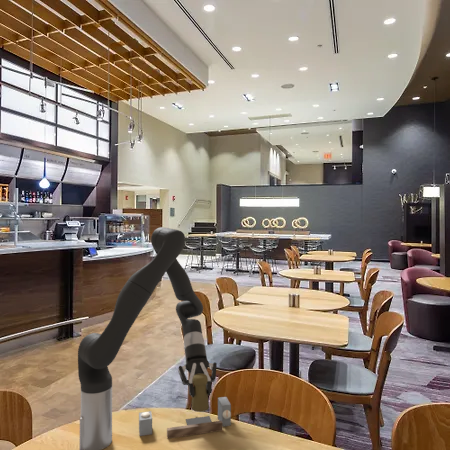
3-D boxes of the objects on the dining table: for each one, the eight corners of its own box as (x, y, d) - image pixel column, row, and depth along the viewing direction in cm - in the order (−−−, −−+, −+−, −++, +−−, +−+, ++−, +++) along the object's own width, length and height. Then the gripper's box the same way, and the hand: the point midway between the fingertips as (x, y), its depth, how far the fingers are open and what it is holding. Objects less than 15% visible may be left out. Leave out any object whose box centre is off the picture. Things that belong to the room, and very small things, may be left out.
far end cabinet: (222, 427, 123) (222, 406, 123) (217, 417, 129) (217, 397, 129) (231, 426, 124) (231, 405, 124) (226, 416, 130) (226, 396, 130)
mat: (189, 433, 119) (189, 432, 119) (185, 420, 128) (185, 419, 128) (214, 429, 122) (214, 428, 122) (209, 417, 130) (209, 415, 130)
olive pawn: (209, 402, 128) (209, 371, 128) (209, 411, 122) (208, 378, 122) (191, 402, 128) (191, 371, 128) (190, 411, 122) (190, 378, 122)
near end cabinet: (139, 435, 118) (139, 418, 118) (138, 427, 123) (138, 411, 123) (152, 434, 119) (152, 417, 119) (151, 426, 124) (151, 409, 124)
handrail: (167, 438, 116) (167, 430, 116) (166, 435, 118) (167, 428, 118) (222, 430, 121) (222, 422, 121) (221, 428, 123) (221, 420, 123)
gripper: (176, 344, 130) (181, 393, 118) (215, 340, 134) (224, 388, 122) (174, 354, 135) (178, 402, 124) (212, 350, 139) (220, 397, 127)
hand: (201, 395), depth 123 cm, fingers closed on olive pawn, 5 cm apart
